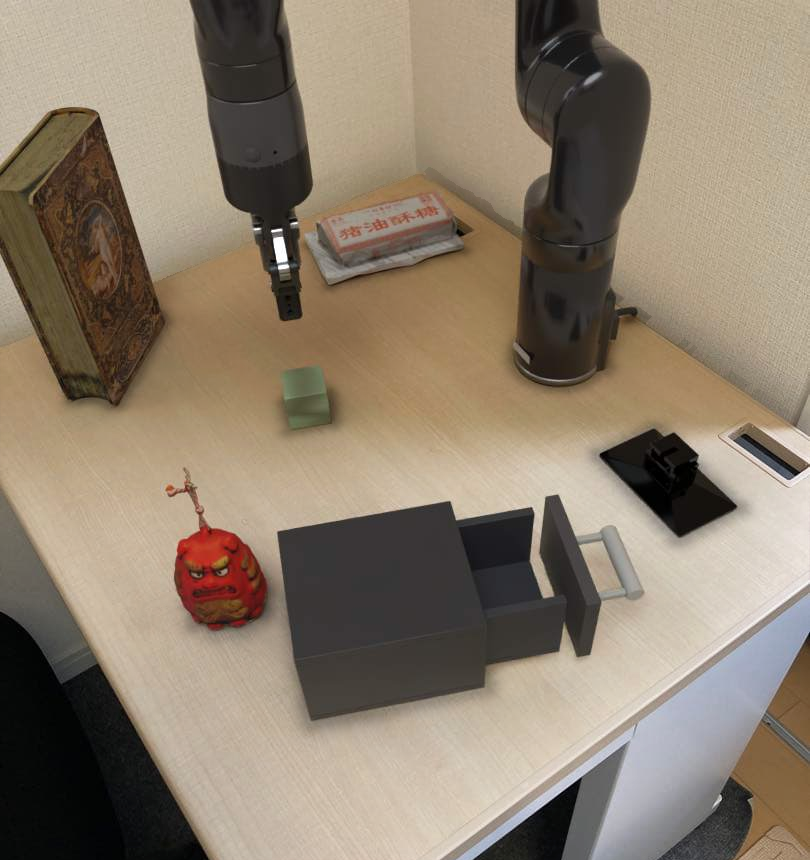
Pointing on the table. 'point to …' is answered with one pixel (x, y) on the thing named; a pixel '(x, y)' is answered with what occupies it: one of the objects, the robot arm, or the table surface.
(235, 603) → the red clay folk toy
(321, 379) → the block
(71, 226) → the book
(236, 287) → the table surface
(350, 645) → the cabinet
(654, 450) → the build plate
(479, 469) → the table surface
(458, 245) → the packaged product
